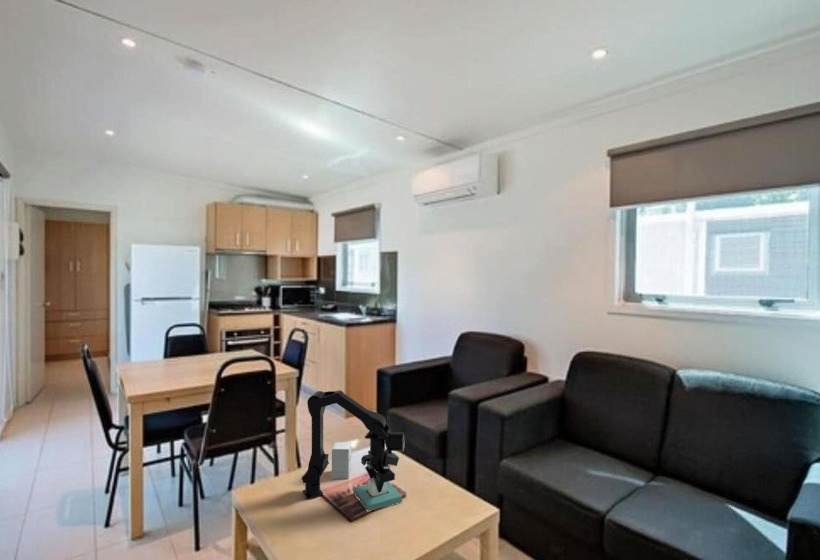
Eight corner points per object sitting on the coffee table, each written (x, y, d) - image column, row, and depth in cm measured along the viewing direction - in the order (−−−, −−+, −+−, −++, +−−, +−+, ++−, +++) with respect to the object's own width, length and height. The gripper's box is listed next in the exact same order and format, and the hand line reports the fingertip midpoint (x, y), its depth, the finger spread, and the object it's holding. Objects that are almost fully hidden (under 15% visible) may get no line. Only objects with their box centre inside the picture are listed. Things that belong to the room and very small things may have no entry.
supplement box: (348, 479, 175) (348, 449, 175) (331, 478, 175) (331, 449, 175) (351, 470, 183) (351, 442, 182) (334, 470, 183) (334, 441, 182)
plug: (368, 491, 161) (368, 478, 161) (382, 488, 164) (382, 475, 164) (372, 497, 157) (372, 483, 157) (386, 492, 160) (386, 479, 160)
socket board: (353, 494, 164) (353, 487, 163) (386, 485, 170) (386, 479, 170) (367, 512, 151) (367, 505, 151) (402, 502, 158) (402, 495, 158)
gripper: (407, 454, 156) (407, 495, 156) (386, 436, 172) (385, 473, 173) (380, 461, 150) (380, 503, 151) (360, 441, 167) (360, 480, 167)
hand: (377, 489), depth 161 cm, fingers closed on plug, 4 cm apart
